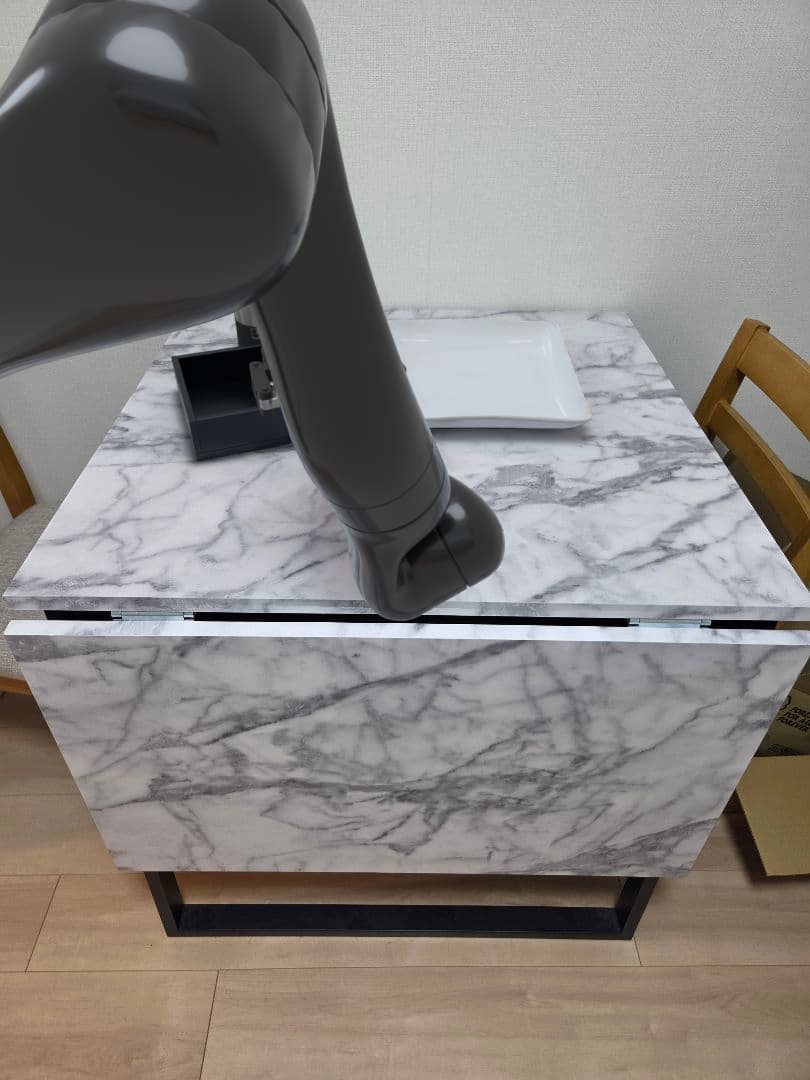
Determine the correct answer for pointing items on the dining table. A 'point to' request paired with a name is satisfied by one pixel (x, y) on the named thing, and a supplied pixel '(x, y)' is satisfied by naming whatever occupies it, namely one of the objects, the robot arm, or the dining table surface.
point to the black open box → (225, 403)
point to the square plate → (490, 373)
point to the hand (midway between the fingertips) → (307, 343)
